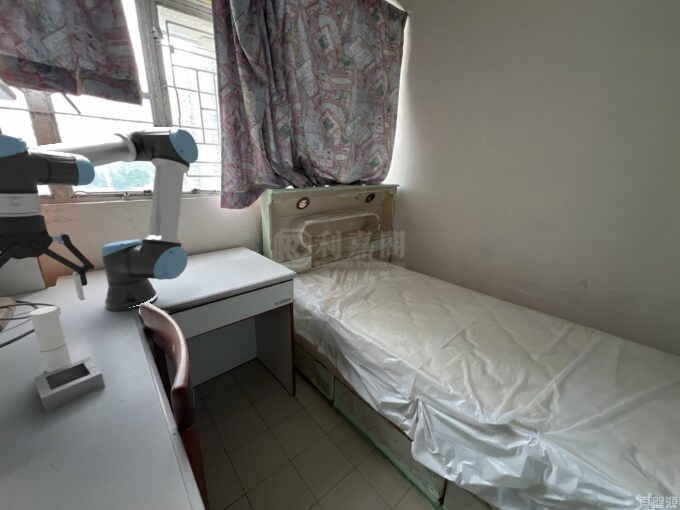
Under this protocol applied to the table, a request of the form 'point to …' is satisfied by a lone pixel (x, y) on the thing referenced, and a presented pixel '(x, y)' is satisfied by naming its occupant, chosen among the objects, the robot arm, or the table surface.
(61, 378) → the gray square frame
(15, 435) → the table surface
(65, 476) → the table surface
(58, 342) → the tube
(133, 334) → the table surface
